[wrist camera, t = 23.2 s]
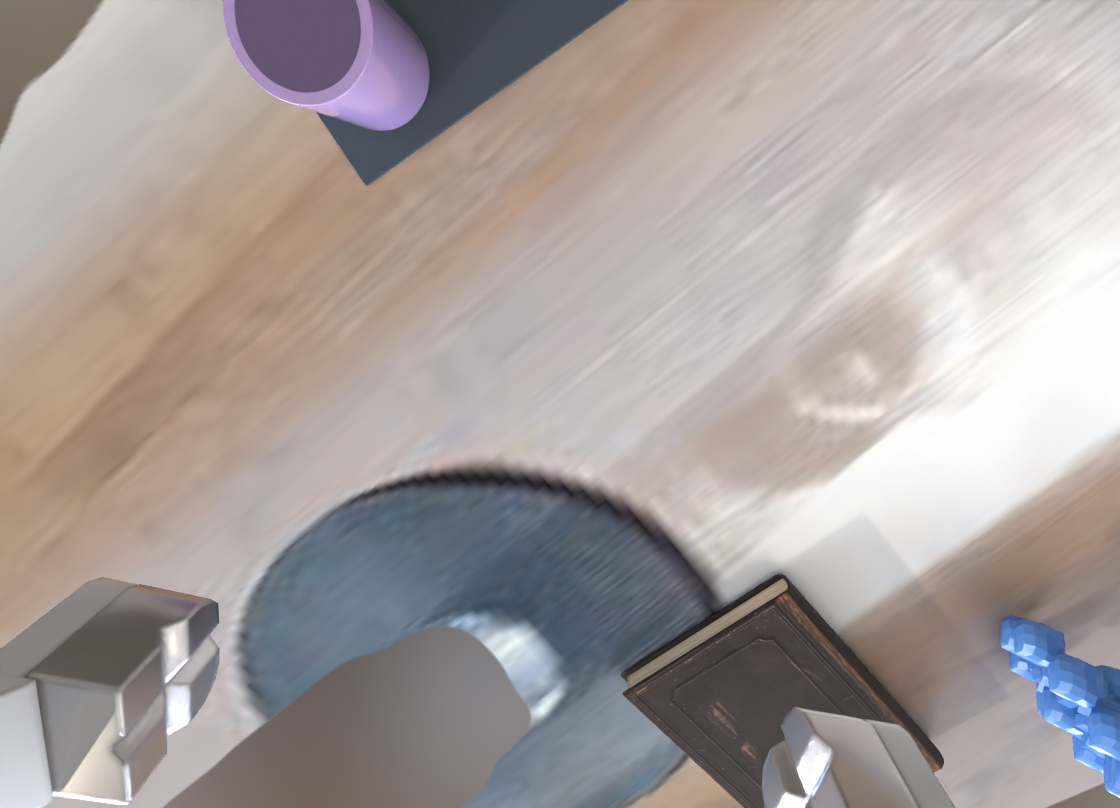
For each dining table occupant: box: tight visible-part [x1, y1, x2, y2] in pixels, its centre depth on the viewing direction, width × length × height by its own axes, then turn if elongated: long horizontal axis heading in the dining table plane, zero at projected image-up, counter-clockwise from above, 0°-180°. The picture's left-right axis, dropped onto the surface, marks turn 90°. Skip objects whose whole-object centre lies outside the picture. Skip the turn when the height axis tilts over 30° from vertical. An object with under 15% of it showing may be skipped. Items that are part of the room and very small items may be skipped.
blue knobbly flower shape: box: [1000, 615, 1120, 798], centre depth 40 cm, size 12×7×12 cm, turn 32°
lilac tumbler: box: [223, 0, 429, 131], centre depth 28 cm, size 6×6×10 cm
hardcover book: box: [621, 575, 944, 808], centre depth 47 cm, size 16×23×2 cm
